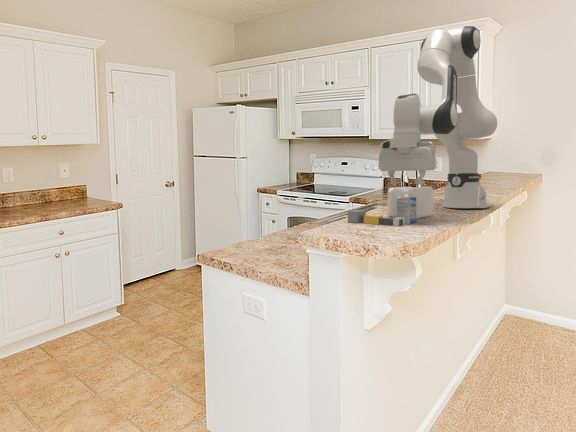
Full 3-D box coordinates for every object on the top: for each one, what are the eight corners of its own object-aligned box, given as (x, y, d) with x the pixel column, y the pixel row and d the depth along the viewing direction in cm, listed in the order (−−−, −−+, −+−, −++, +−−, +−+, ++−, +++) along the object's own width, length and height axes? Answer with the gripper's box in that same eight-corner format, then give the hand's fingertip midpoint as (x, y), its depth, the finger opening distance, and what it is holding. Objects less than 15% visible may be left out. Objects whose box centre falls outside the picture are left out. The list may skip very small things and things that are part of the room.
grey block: (356, 221, 166) (356, 210, 165) (367, 222, 162) (367, 210, 162) (347, 222, 162) (347, 211, 162) (358, 223, 159) (358, 211, 159)
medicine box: (409, 224, 153) (409, 198, 152) (396, 224, 155) (396, 198, 154) (416, 222, 160) (416, 197, 159) (403, 221, 162) (404, 196, 161)
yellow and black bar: (364, 222, 163) (364, 214, 162) (404, 225, 151) (404, 217, 151) (357, 223, 160) (357, 215, 160) (398, 226, 148) (398, 218, 148)
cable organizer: (410, 220, 165) (410, 187, 164) (386, 218, 173) (386, 187, 171) (433, 217, 174) (433, 186, 173) (409, 215, 182) (409, 186, 181)
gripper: (440, 141, 149) (439, 184, 151) (386, 145, 164) (386, 184, 165) (430, 140, 145) (429, 184, 146) (376, 144, 160) (375, 184, 161)
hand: (406, 184), depth 156 cm, fingers open, 8 cm apart
